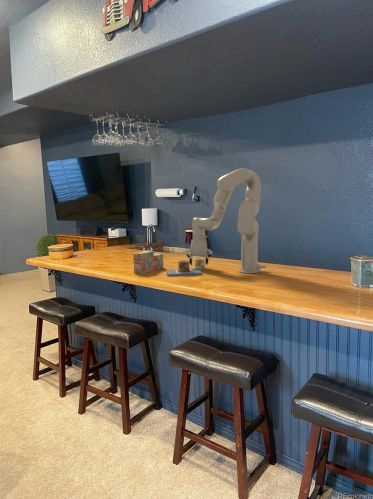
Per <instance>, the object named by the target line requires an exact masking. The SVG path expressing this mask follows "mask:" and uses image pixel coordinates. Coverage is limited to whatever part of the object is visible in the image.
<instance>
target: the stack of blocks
mask: <svg viewBox="0 0 373 499" xmlns="http://www.w3.org/2000/svg"><path fill="white" fill-rule="evenodd" d="M132 255H133V260H132V261H133V273H134V274H140V273H141V275H142V273H143V274H147V273H149V271H150V272H153V270H154V271H157V270H160V269H164V254H163V253H155V251H154V250H143V251H139V252H133V254H132ZM146 272H147V273H146Z"/></svg>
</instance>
